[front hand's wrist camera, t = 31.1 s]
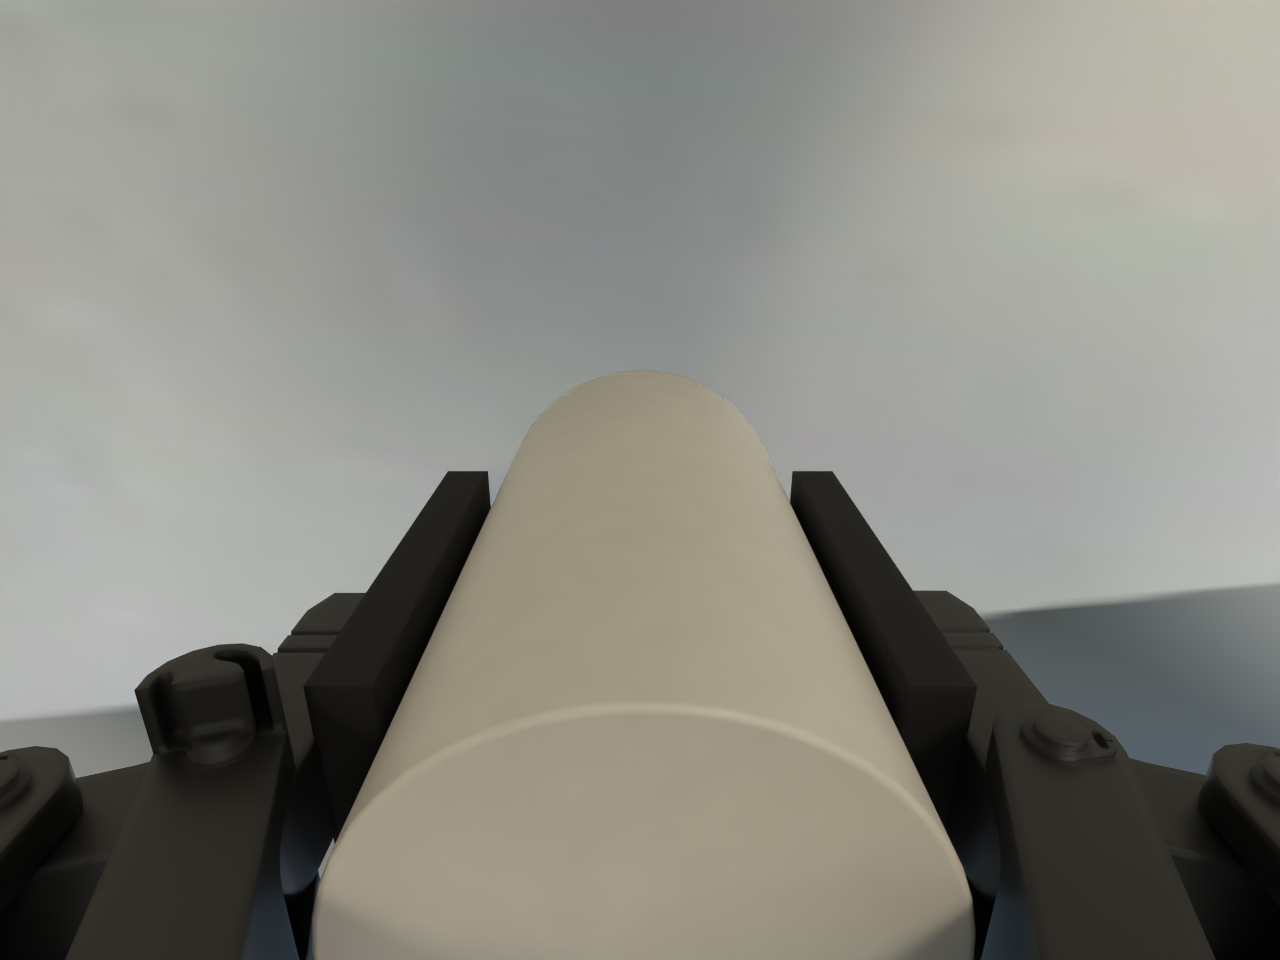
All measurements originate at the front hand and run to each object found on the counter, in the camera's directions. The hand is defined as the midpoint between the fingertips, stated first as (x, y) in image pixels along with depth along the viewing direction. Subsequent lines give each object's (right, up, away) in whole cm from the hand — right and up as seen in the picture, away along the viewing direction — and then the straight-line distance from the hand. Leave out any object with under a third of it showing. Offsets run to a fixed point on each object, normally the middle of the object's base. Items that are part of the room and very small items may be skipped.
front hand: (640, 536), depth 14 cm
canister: (0, +1, +2) cm, 2 cm away
